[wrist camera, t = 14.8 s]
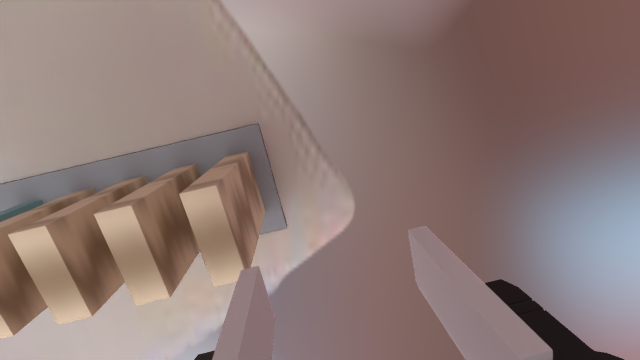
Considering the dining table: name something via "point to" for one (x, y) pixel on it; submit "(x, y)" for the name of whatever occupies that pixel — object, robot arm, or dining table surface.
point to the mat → (156, 171)
